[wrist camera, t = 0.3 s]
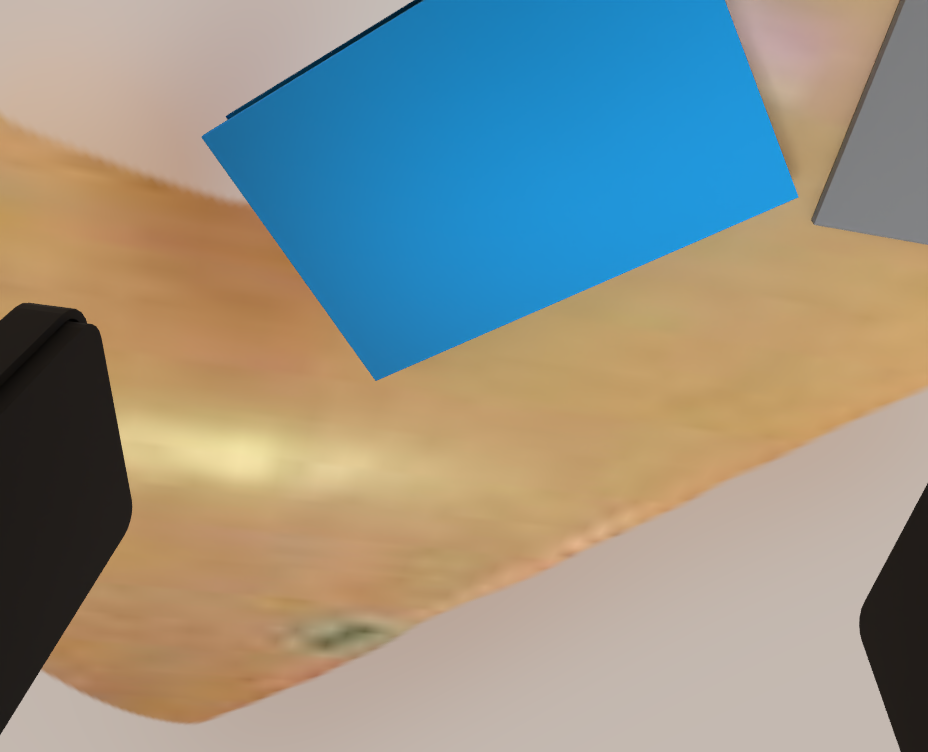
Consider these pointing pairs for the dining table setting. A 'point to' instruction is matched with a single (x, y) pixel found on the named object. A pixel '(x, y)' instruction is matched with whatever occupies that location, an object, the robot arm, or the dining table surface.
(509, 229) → the book
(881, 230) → the mat
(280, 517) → the dining table surface
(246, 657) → the dining table surface
